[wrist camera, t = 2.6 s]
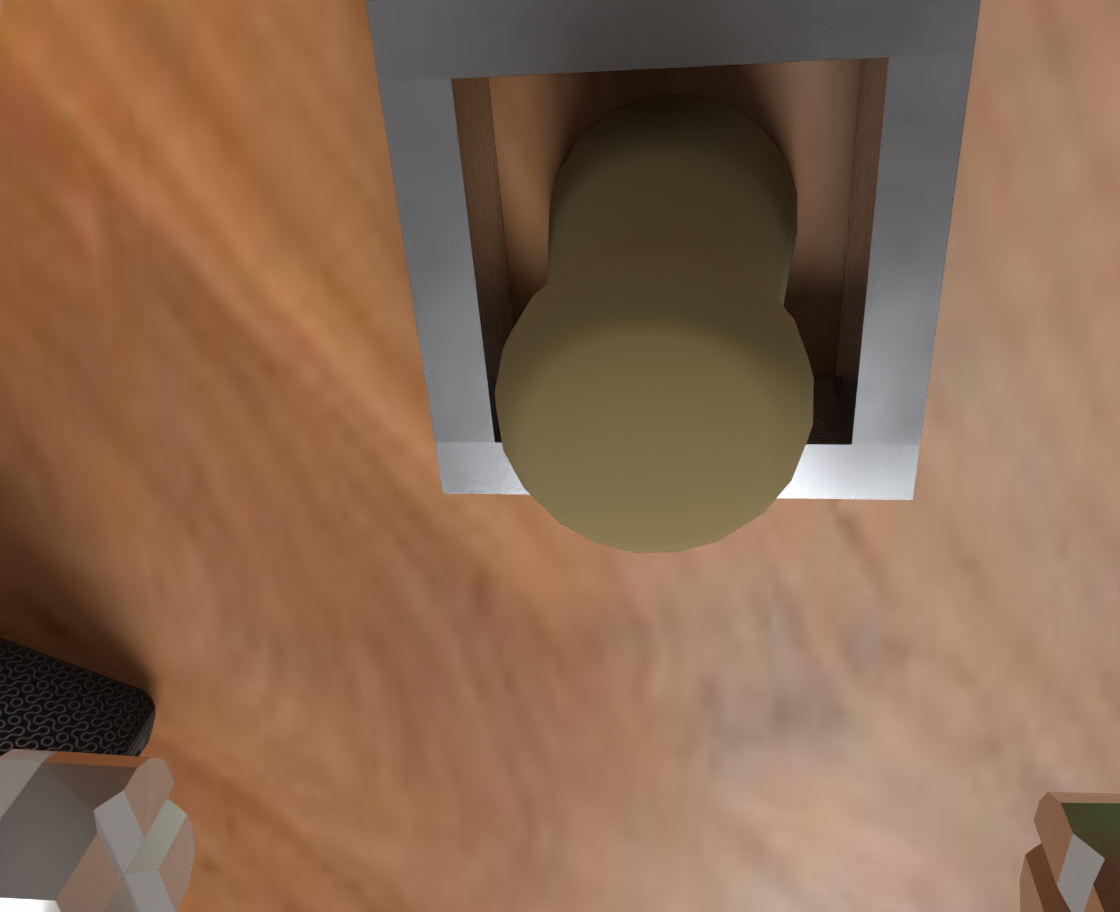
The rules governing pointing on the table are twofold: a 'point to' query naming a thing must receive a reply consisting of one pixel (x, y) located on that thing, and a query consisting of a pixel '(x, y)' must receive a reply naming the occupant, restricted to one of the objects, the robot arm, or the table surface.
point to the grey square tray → (670, 42)
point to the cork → (661, 333)
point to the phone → (68, 707)
